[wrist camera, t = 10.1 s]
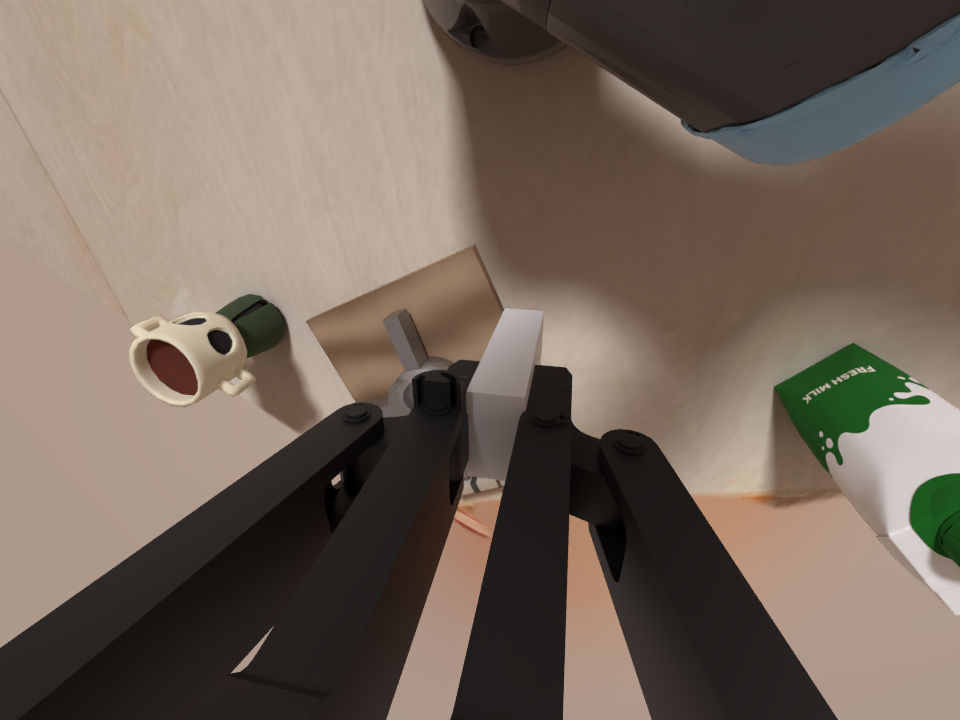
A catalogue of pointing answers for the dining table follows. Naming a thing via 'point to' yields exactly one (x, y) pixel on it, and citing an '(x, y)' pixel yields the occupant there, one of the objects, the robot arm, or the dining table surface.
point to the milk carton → (887, 457)
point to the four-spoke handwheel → (407, 365)
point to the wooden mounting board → (436, 318)
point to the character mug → (203, 350)
